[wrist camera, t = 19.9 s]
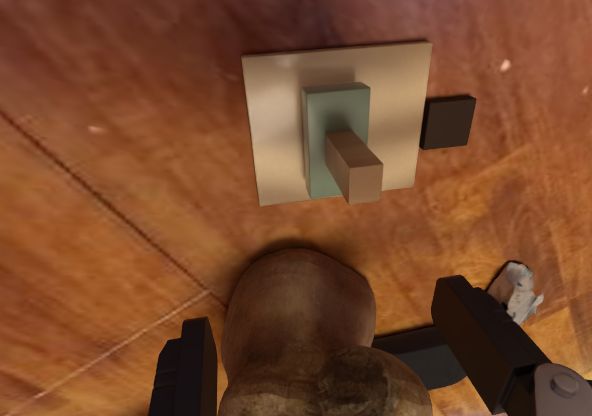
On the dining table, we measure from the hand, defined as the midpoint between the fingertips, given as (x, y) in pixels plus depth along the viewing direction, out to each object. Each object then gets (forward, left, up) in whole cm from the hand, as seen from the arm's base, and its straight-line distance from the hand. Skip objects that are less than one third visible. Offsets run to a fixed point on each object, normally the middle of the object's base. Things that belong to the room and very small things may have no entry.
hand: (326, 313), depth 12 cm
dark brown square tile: (+1, +15, -19) cm, 24 cm away
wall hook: (0, +4, -18) cm, 19 cm away
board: (0, +5, -19) cm, 20 cm away
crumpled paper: (+21, +24, -17) cm, 36 cm away
